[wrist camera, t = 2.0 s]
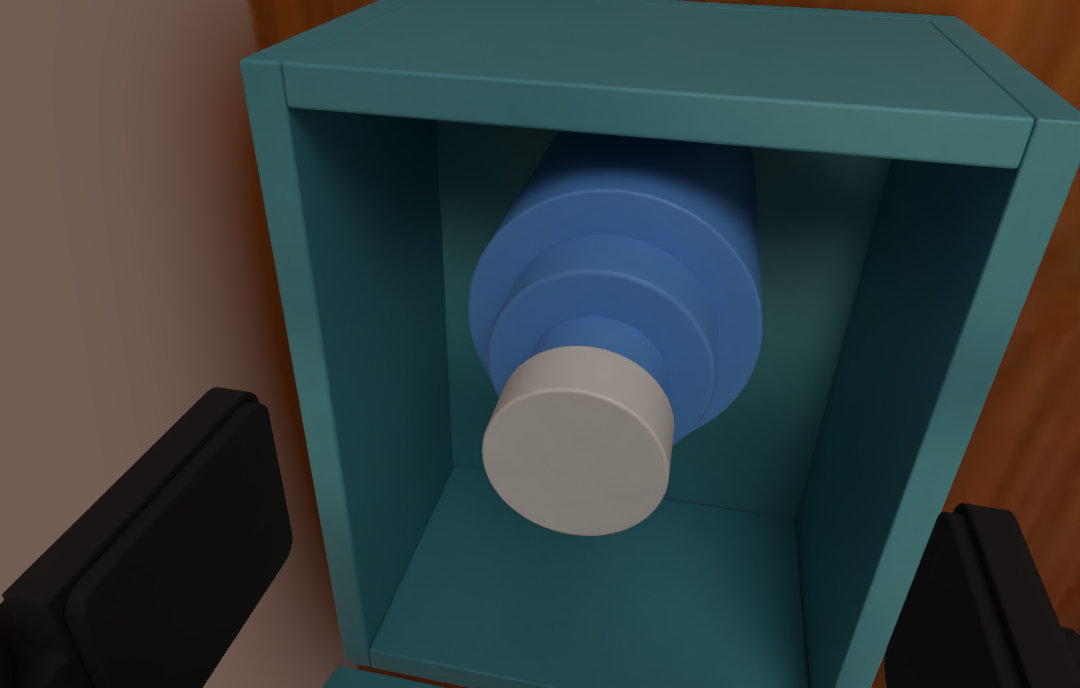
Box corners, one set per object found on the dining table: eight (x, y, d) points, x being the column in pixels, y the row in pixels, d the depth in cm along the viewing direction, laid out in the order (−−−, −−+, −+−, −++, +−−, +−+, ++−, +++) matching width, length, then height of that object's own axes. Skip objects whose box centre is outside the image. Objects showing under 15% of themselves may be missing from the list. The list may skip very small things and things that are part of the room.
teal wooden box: (410, -15, 21) (236, 58, 14) (957, 15, 19) (1098, 123, 11) (440, 463, 30) (344, 662, 23) (813, 523, 28) (840, 765, 20)
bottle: (513, 128, 22) (323, 368, 12) (710, 38, 19) (681, 240, 9) (598, 298, 24) (498, 622, 14) (783, 235, 22) (822, 567, 12)
